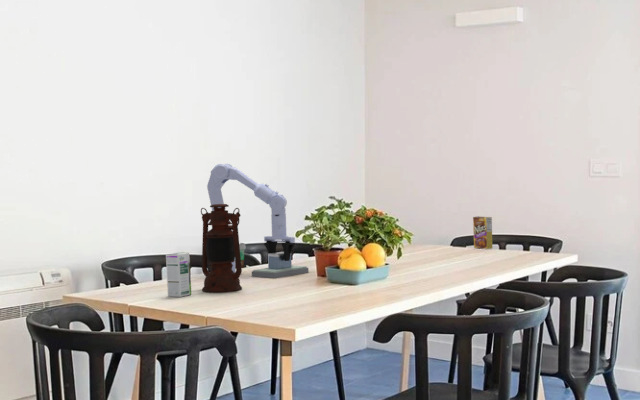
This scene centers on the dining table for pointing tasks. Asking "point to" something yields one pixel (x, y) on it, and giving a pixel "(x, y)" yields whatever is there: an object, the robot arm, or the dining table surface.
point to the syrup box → (178, 274)
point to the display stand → (279, 272)
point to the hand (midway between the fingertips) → (279, 260)
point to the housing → (278, 261)
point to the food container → (241, 254)
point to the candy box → (482, 232)
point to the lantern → (221, 250)
